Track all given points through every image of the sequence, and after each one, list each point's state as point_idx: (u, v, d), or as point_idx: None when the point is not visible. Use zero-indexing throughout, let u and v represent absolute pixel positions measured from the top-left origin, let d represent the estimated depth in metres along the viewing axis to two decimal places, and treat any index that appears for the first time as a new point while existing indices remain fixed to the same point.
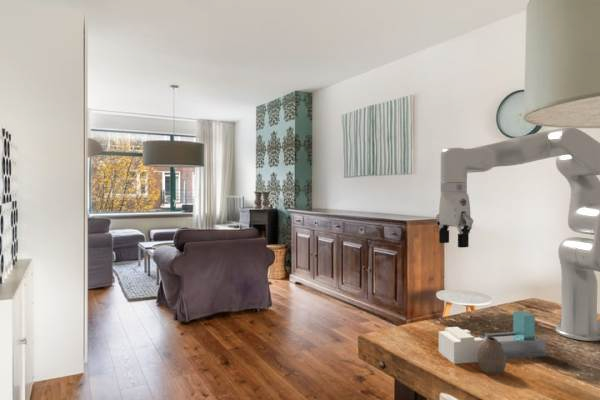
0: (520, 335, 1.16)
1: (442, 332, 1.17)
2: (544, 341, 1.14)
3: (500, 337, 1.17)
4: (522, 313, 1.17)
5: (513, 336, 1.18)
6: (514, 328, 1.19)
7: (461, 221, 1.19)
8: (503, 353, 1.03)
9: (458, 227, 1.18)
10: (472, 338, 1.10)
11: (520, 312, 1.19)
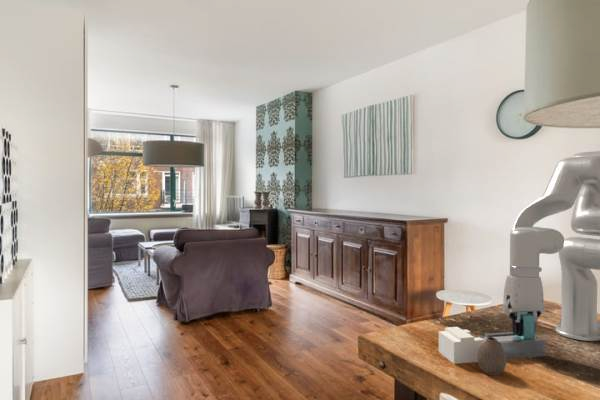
0: None
1: (442, 332, 1.17)
2: (544, 341, 1.14)
3: (500, 337, 1.17)
4: (522, 313, 1.17)
5: (513, 336, 1.18)
6: None
7: None
8: (503, 353, 1.03)
9: (535, 314, 1.16)
10: (472, 338, 1.10)
11: None
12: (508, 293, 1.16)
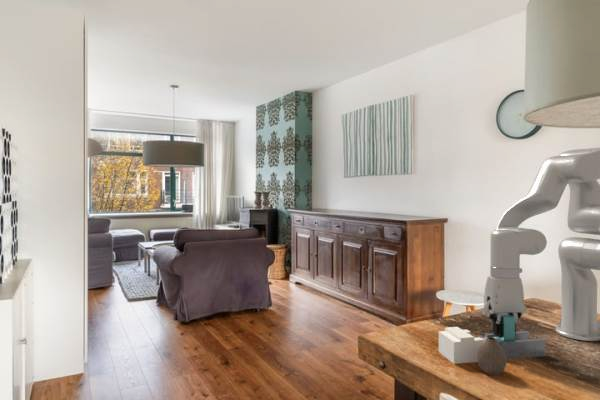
0: None
1: (442, 332, 1.17)
2: (544, 341, 1.14)
3: None
4: (503, 314, 1.16)
5: (494, 337, 1.17)
6: None
7: None
8: (503, 353, 1.03)
9: (515, 315, 1.15)
10: (472, 338, 1.10)
11: None
12: (488, 294, 1.15)
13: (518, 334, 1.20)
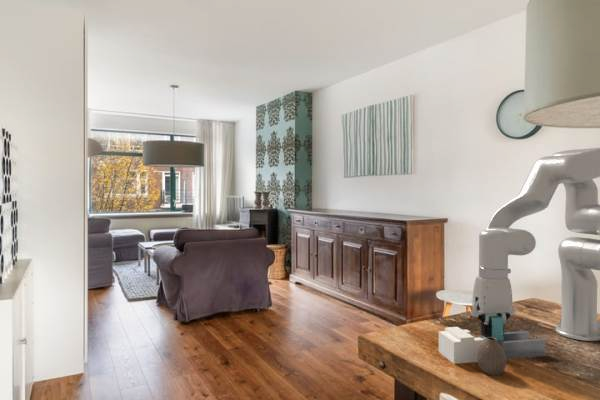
0: None
1: (442, 332, 1.17)
2: (544, 341, 1.14)
3: None
4: (491, 315, 1.16)
5: (482, 338, 1.17)
6: None
7: None
8: (503, 353, 1.03)
9: (504, 316, 1.15)
10: (472, 338, 1.10)
11: (490, 314, 1.17)
12: (477, 295, 1.15)
13: (518, 334, 1.20)
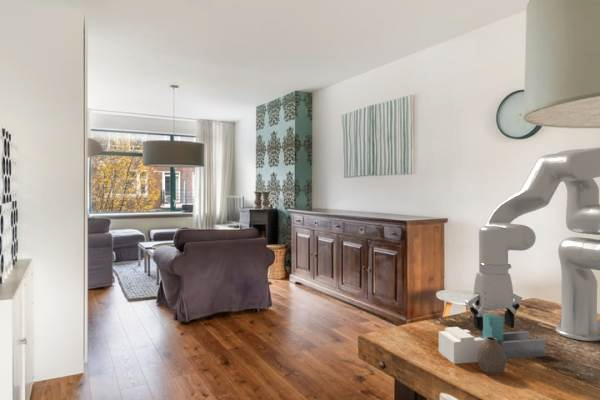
0: None
1: (442, 332, 1.17)
2: (544, 341, 1.14)
3: None
4: (491, 315, 1.16)
5: (482, 338, 1.17)
6: (484, 330, 1.17)
7: None
8: (503, 353, 1.03)
9: (511, 308, 1.15)
10: (472, 338, 1.10)
11: (490, 314, 1.17)
12: (477, 291, 1.15)
13: (518, 334, 1.20)
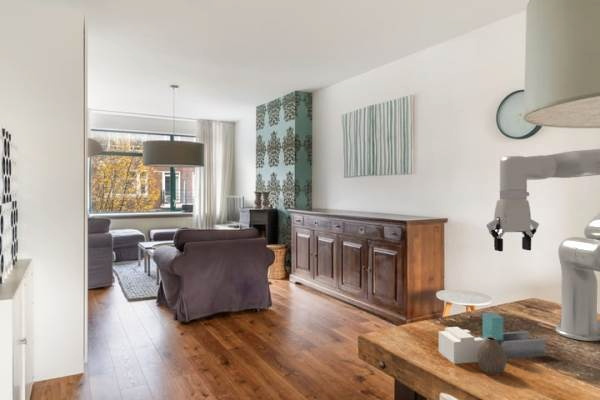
0: None
1: (442, 332, 1.17)
2: (544, 341, 1.14)
3: None
4: (491, 315, 1.16)
5: (482, 338, 1.17)
6: (484, 330, 1.17)
7: None
8: (503, 353, 1.03)
9: (528, 231, 1.25)
10: (472, 338, 1.10)
11: (490, 314, 1.17)
12: (498, 215, 1.25)
13: (518, 334, 1.20)
